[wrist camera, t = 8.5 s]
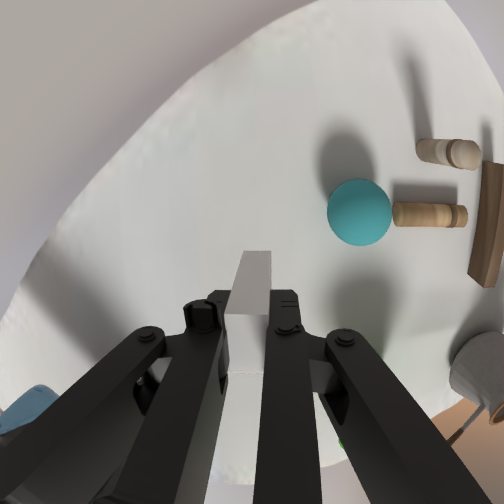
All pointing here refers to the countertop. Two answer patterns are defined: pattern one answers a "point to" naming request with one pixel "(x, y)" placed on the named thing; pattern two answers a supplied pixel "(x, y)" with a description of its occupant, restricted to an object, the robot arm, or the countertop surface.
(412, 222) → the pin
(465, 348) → the coffee pot
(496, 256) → the bar
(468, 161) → the side pin
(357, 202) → the ball
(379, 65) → the countertop surface
